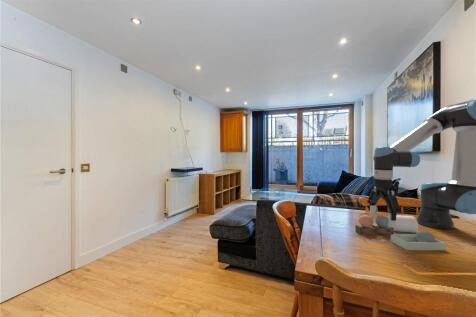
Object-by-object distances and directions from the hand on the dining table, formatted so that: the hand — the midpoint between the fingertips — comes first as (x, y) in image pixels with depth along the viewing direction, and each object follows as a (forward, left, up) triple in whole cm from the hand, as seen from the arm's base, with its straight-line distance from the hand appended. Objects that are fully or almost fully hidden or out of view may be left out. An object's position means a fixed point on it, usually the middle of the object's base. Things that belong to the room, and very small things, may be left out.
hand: (381, 222), depth 102 cm
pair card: (+8, +10, -5) cm, 14 cm away
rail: (+4, 0, -5) cm, 6 cm away
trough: (-4, +15, -5) cm, 17 cm away
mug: (-12, -5, -6) cm, 15 cm away
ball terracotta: (+8, 0, -2) cm, 8 cm away
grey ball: (-8, +15, -5) cm, 18 cm away
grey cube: (0, 0, -2) cm, 2 cm away
